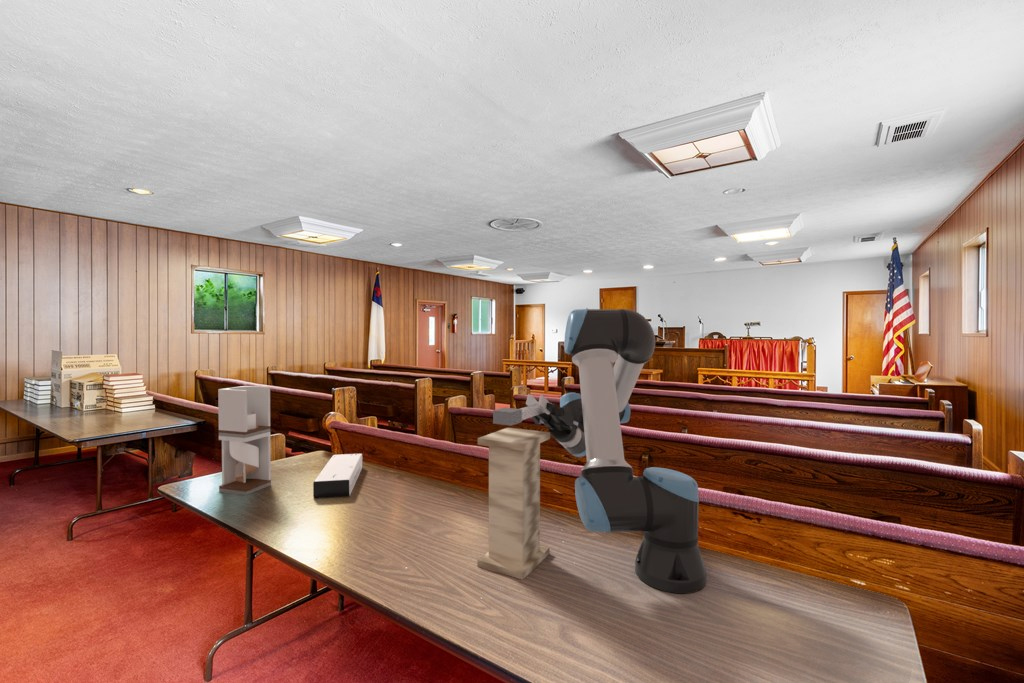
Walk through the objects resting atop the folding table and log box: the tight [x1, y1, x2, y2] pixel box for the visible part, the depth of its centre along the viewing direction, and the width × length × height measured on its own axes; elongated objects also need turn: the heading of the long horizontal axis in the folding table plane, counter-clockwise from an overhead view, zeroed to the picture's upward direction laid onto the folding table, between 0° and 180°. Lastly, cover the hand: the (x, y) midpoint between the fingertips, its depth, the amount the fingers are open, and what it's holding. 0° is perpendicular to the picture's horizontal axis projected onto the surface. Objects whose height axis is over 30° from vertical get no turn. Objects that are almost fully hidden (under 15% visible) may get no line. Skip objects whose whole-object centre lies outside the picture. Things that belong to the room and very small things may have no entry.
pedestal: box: [477, 427, 551, 580], centre depth 111 cm, size 14×12×30 cm
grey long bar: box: [492, 402, 553, 427], centre depth 116 cm, size 24×5×3 cm, turn 151°
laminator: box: [312, 453, 363, 499], centre depth 169 cm, size 34×12×6 cm, turn 11°
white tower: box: [217, 385, 272, 496], centre depth 162 cm, size 11×11×35 cm
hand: (534, 399), depth 120 cm, fingers closed on grey long bar, 3 cm apart
